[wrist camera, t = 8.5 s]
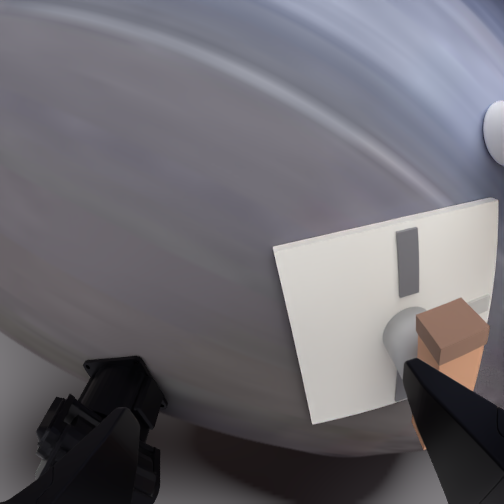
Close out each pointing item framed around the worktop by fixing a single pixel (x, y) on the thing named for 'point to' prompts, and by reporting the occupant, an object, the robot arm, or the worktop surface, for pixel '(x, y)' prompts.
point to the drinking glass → (495, 131)
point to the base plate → (380, 299)
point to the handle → (452, 342)
